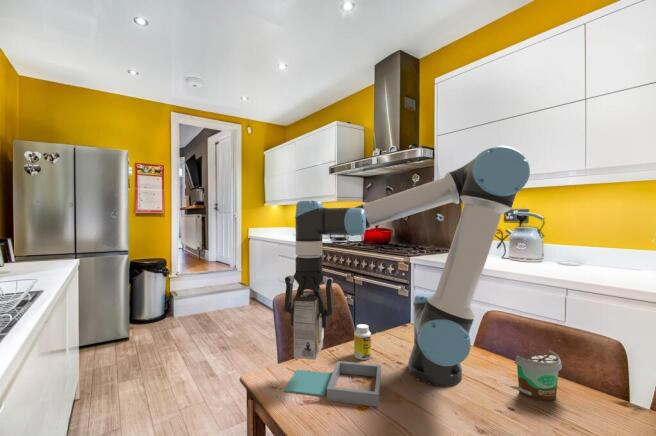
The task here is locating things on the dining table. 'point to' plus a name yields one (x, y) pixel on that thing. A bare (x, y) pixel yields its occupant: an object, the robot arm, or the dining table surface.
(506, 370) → the dining table surface
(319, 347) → the coffee box
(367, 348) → the supplement bottle
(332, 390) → the square frame
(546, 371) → the food container
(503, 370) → the dining table surface
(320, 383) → the mat
